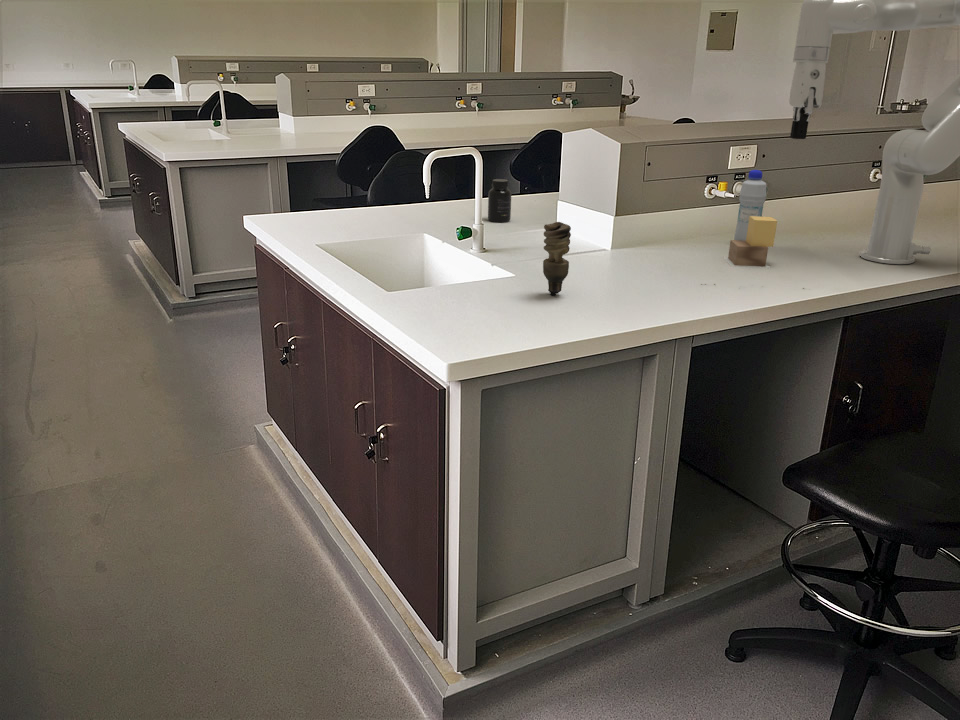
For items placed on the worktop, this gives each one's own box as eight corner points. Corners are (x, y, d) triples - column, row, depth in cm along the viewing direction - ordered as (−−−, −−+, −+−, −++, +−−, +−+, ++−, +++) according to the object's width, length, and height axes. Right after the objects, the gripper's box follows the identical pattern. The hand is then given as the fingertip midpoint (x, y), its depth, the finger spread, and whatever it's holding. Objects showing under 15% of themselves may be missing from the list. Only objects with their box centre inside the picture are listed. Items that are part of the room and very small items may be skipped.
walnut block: (757, 259, 190) (760, 241, 188) (765, 266, 183) (768, 247, 182) (728, 258, 190) (730, 239, 189) (734, 265, 184) (737, 246, 182)
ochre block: (767, 242, 187) (771, 216, 185) (773, 246, 183) (777, 220, 180) (745, 241, 187) (749, 216, 185) (751, 245, 183) (755, 220, 181)
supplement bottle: (483, 219, 237) (484, 178, 233) (504, 218, 240) (505, 178, 236) (493, 223, 231) (495, 182, 227) (514, 222, 234) (516, 181, 230)
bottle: (730, 247, 209) (740, 170, 202) (735, 242, 214) (745, 167, 207) (756, 250, 206) (767, 172, 199) (760, 245, 212) (772, 169, 204)
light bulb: (534, 294, 162) (538, 221, 157) (551, 289, 166) (556, 218, 160) (555, 300, 158) (559, 225, 153) (572, 295, 162) (577, 222, 156)
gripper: (839, 56, 174) (824, 142, 180) (817, 56, 188) (804, 136, 194) (804, 55, 174) (791, 141, 181) (785, 55, 188) (773, 135, 195)
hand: (797, 138), depth 187 cm, fingers closed
